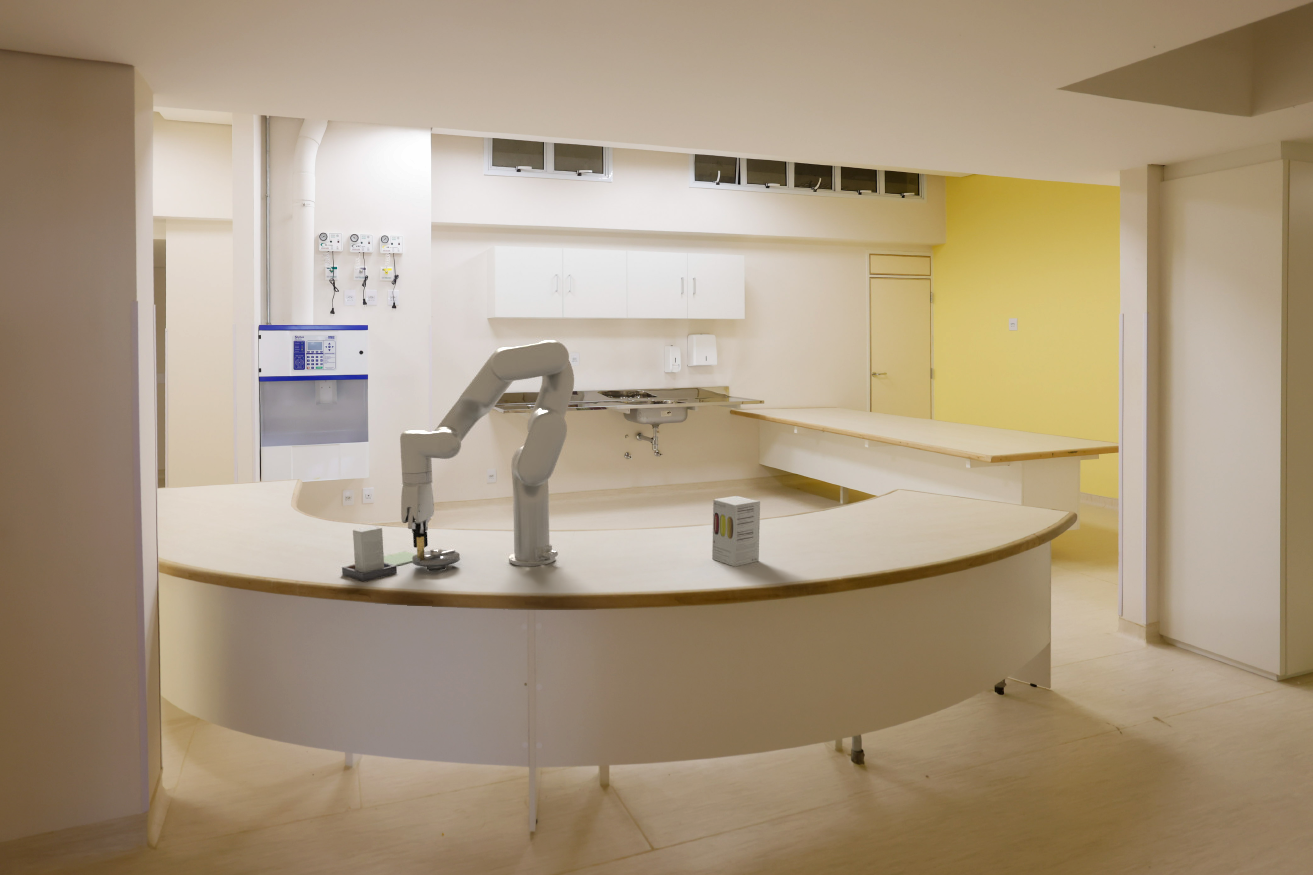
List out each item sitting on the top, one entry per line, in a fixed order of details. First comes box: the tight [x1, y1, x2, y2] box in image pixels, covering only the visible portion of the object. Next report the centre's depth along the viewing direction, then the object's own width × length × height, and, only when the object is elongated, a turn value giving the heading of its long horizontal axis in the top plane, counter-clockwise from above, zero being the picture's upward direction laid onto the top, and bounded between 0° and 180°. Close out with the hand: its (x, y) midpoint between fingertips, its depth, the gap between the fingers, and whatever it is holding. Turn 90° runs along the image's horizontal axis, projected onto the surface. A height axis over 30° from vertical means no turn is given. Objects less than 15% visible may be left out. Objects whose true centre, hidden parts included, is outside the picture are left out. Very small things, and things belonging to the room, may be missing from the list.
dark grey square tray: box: [341, 562, 398, 583], centre depth 212 cm, size 10×10×2 cm
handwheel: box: [411, 536, 461, 568], centre depth 216 cm, size 12×12×7 cm
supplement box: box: [711, 495, 761, 567], centre depth 224 cm, size 10×9×17 cm
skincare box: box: [352, 525, 385, 573], centre depth 211 cm, size 6×4×12 cm
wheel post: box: [426, 565, 447, 572], centre depth 217 cm, size 5×5×2 cm
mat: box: [384, 550, 417, 566], centre depth 226 cm, size 10×10×1 cm
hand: (420, 546), depth 216 cm, fingers closed
